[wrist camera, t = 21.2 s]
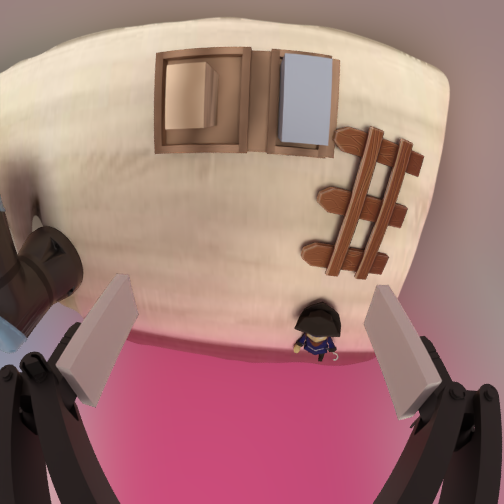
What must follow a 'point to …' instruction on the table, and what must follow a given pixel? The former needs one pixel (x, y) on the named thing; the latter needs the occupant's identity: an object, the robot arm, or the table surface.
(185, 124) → the wooden block
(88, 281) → the table surface
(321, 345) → the toy
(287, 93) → the grey rectangular block
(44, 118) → the table surface
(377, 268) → the decorative fence
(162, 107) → the tray
